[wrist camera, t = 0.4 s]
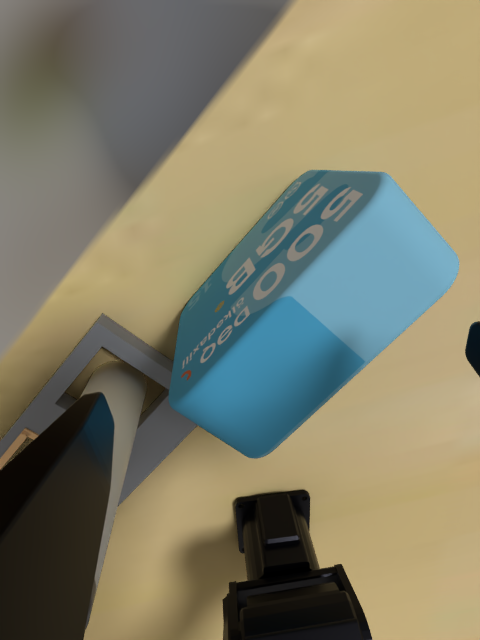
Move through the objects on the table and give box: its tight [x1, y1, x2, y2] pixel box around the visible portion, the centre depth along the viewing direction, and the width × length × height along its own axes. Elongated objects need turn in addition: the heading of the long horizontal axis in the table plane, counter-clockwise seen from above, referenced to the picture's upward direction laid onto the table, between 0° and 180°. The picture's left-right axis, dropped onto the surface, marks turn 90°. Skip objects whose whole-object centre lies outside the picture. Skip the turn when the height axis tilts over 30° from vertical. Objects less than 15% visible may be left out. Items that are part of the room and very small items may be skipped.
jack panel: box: [0, 313, 197, 507], centre depth 27 cm, size 10×17×2 cm, turn 138°
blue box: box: [168, 170, 459, 458], centre depth 19 cm, size 12×4×12 cm, turn 138°
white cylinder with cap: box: [80, 361, 147, 629], centre depth 20 cm, size 4×4×15 cm
